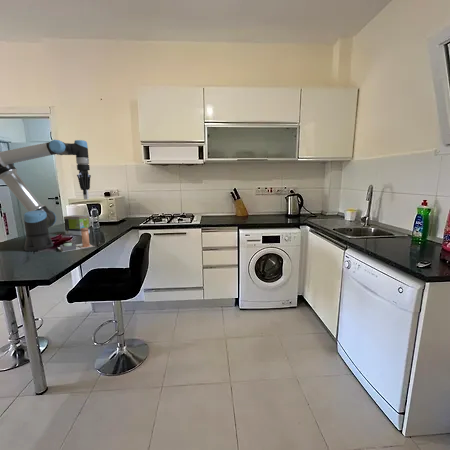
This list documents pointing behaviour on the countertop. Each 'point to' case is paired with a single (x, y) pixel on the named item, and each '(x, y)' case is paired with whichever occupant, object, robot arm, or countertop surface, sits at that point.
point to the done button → (67, 244)
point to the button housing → (68, 247)
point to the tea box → (76, 224)
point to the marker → (85, 237)
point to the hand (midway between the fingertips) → (86, 199)
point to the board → (79, 247)
